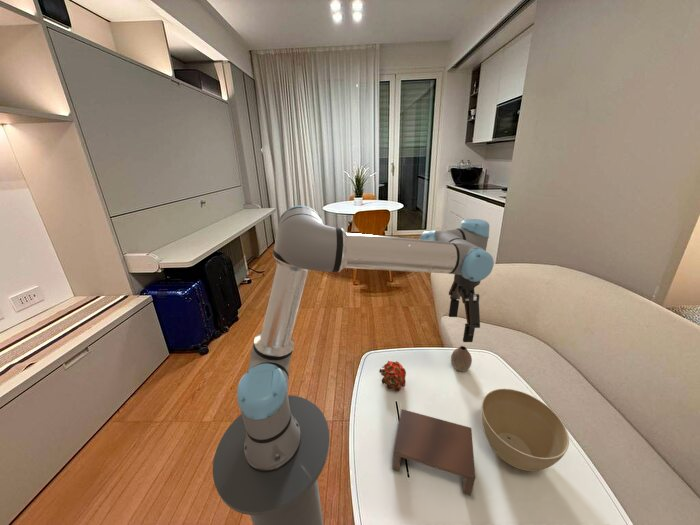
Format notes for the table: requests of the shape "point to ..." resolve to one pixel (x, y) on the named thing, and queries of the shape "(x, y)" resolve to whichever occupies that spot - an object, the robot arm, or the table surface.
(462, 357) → the vase
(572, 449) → the table surface
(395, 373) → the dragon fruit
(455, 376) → the table surface
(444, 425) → the shelf
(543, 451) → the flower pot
